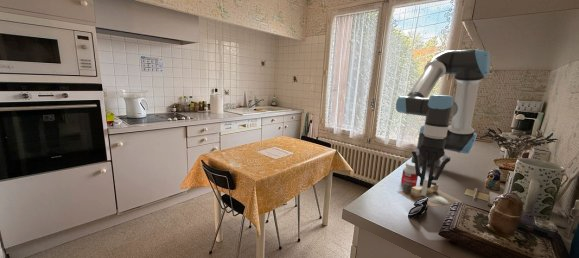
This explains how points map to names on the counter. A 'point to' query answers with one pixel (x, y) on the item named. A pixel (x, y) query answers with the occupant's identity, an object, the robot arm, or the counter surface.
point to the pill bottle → (409, 174)
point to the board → (434, 197)
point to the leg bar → (418, 189)
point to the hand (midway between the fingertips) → (423, 194)
